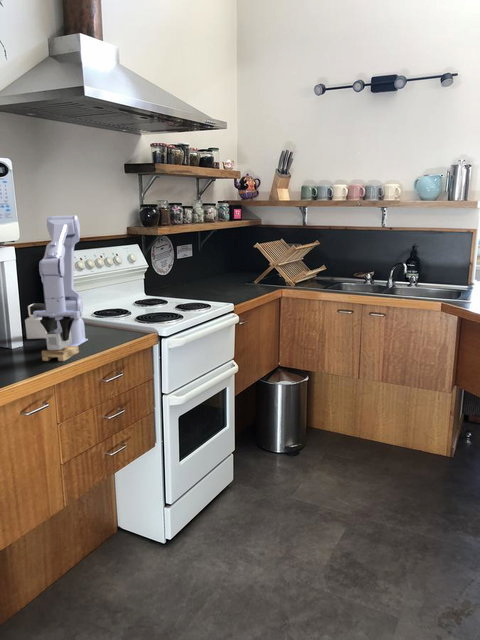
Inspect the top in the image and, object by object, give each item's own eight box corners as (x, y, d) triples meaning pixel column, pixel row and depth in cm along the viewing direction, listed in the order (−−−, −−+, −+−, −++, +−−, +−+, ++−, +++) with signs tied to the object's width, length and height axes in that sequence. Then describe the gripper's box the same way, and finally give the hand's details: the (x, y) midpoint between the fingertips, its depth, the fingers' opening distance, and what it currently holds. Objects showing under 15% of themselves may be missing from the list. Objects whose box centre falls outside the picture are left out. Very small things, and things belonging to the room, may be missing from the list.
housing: (60, 342, 169) (58, 327, 167) (72, 343, 168) (70, 328, 167) (47, 349, 161) (45, 334, 160) (59, 350, 160) (57, 334, 159)
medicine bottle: (53, 333, 195) (49, 302, 193) (46, 338, 188) (43, 305, 186) (33, 334, 195) (30, 302, 192) (26, 339, 188) (22, 306, 186)
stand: (58, 351, 171) (57, 342, 170) (78, 352, 169) (77, 343, 169) (42, 360, 161) (41, 351, 160) (63, 361, 160) (62, 351, 159)
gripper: (26, 299, 158) (31, 343, 161) (70, 299, 156) (75, 343, 159) (38, 295, 165) (43, 337, 168) (81, 295, 163) (85, 338, 166)
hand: (59, 340), depth 164 cm, fingers closed on housing, 4 cm apart
